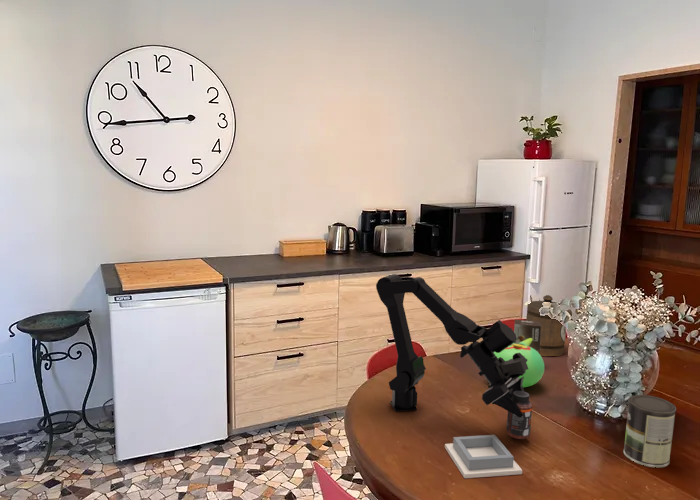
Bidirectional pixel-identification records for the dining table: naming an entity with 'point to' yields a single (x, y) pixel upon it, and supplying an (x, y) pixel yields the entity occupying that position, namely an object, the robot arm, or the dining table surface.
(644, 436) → the coffee can
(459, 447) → the cup holder
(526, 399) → the supplement bottle
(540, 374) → the toy bird
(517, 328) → the coffee box
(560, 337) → the wooden container
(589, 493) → the dining table surface
